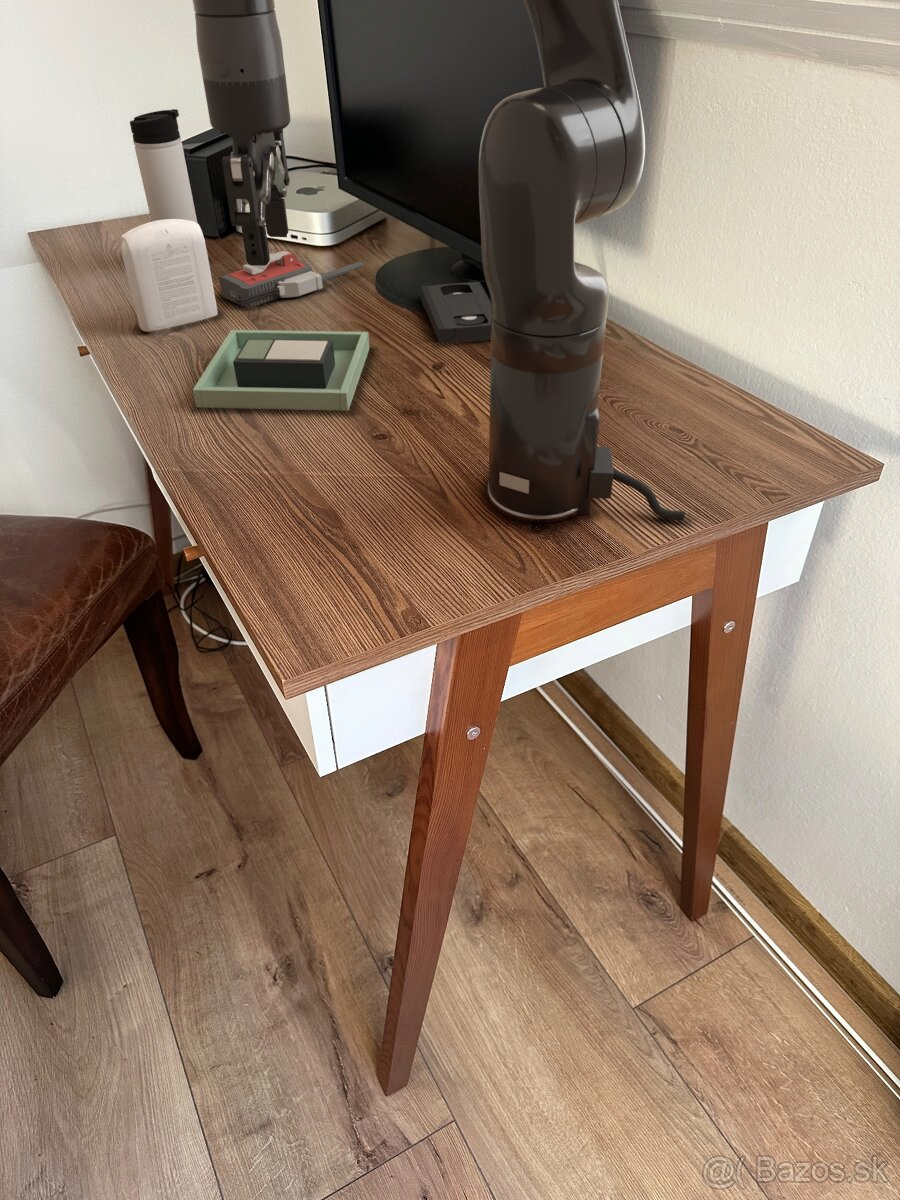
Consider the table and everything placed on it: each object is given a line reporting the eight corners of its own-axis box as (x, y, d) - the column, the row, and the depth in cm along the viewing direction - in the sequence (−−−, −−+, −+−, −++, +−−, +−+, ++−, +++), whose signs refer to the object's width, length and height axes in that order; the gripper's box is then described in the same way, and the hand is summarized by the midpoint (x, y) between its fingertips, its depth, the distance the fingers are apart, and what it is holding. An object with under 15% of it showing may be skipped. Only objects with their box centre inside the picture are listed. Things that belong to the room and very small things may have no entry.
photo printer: (211, 307, 118) (192, 209, 110) (224, 317, 115) (205, 218, 107) (135, 325, 113) (109, 225, 105) (146, 336, 111) (121, 234, 103)
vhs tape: (502, 339, 108) (503, 323, 107) (439, 345, 107) (438, 329, 106) (479, 295, 119) (479, 280, 118) (421, 300, 118) (420, 285, 117)
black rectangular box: (335, 364, 103) (332, 338, 101) (325, 388, 98) (322, 362, 96) (250, 363, 103) (246, 337, 101) (237, 386, 99) (232, 360, 97)
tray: (369, 350, 106) (368, 331, 105) (348, 413, 95) (346, 393, 93) (234, 348, 108) (231, 329, 106) (196, 410, 96) (192, 389, 94)
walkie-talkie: (249, 317, 115) (367, 276, 125) (243, 283, 112) (365, 244, 122) (212, 299, 120) (329, 261, 130) (205, 266, 117) (325, 230, 127)
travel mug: (201, 270, 128) (171, 115, 115) (156, 271, 128) (120, 116, 115) (211, 255, 133) (182, 105, 120) (167, 255, 133) (134, 106, 120)
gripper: (265, 86, 76) (289, 275, 86) (299, 55, 86) (317, 227, 97) (179, 86, 76) (214, 274, 87) (224, 55, 87) (250, 226, 97)
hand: (268, 249), depth 92 cm, fingers open, 8 cm apart
